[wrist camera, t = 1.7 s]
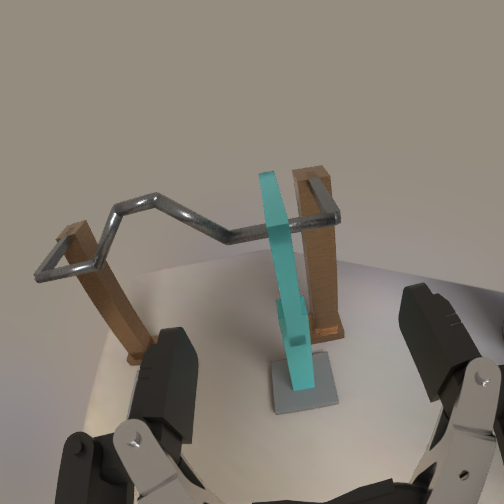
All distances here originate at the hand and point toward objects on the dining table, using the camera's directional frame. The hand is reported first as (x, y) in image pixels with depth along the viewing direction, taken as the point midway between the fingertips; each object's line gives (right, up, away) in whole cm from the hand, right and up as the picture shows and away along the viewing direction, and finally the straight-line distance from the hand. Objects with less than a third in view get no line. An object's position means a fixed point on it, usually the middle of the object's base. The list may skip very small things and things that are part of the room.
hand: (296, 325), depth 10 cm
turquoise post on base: (+4, -13, +22) cm, 26 cm away
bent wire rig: (-4, -12, +27) cm, 30 cm away
